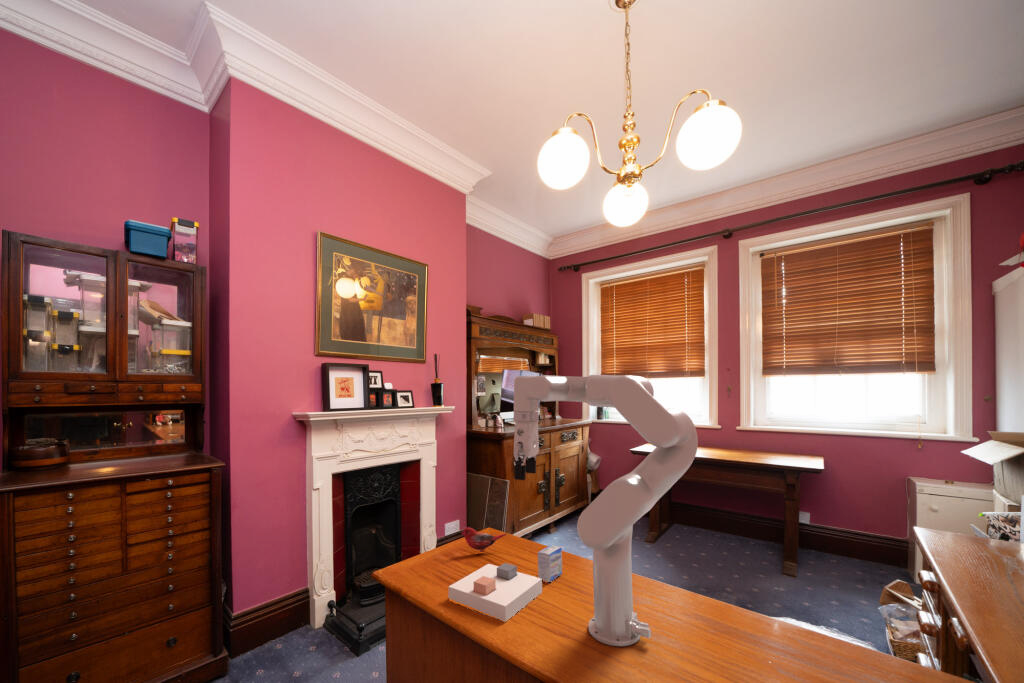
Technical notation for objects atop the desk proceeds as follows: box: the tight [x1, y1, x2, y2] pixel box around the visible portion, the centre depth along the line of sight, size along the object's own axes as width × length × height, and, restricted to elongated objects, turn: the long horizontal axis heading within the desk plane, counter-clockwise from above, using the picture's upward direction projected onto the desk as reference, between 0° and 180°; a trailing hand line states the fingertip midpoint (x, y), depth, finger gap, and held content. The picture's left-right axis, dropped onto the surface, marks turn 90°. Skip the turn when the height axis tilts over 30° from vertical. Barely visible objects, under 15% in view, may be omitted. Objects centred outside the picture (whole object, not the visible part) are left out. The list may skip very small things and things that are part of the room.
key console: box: [448, 563, 543, 623], centre depth 121 cm, size 20×19×4 cm
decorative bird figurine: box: [461, 526, 508, 552], centre depth 154 cm, size 3×18×10 cm, turn 107°
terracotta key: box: [474, 576, 496, 596], centre depth 117 cm, size 4×4×3 cm
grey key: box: [497, 562, 518, 581], centre depth 126 cm, size 4×4×3 cm
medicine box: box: [537, 544, 563, 583], centre depth 134 cm, size 8×4×9 cm, turn 143°
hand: (525, 476), depth 122 cm, fingers open, 9 cm apart
